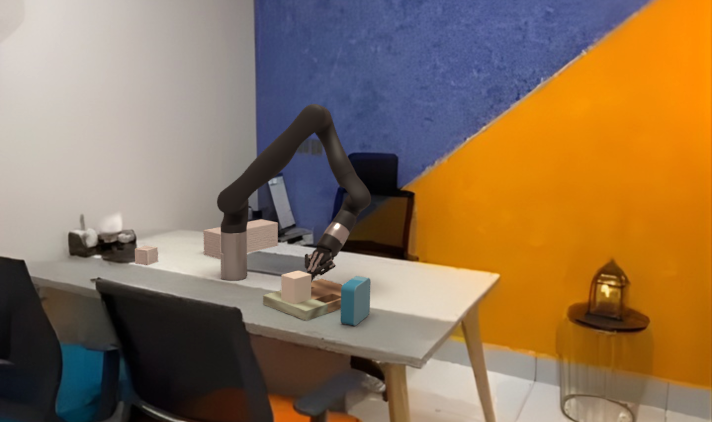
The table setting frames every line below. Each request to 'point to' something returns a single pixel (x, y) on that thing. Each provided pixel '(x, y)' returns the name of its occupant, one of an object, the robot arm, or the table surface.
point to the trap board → (309, 301)
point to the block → (296, 287)
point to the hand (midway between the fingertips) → (305, 283)
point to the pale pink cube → (146, 255)
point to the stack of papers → (258, 237)
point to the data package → (355, 300)
